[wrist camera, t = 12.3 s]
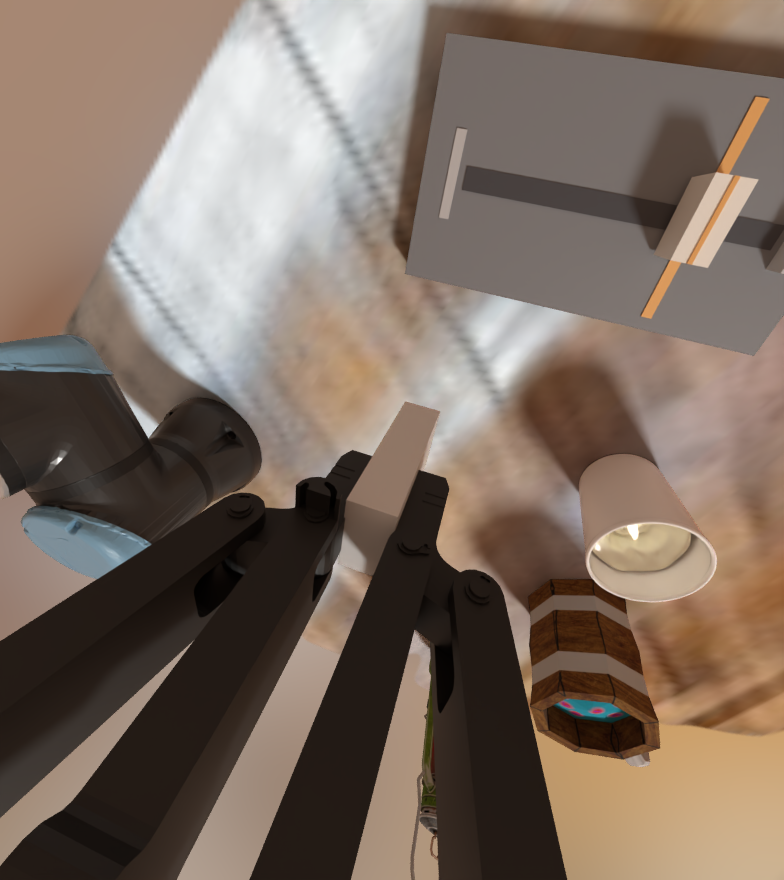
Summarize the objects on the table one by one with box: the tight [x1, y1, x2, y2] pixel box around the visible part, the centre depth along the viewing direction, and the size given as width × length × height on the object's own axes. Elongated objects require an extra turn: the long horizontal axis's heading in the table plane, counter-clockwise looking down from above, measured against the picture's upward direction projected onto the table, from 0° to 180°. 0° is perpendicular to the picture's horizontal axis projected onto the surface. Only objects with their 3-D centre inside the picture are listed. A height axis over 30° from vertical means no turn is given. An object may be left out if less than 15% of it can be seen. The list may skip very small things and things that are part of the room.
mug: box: [528, 579, 660, 767], centre depth 49 cm, size 20×14×15 cm
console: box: [405, 33, 784, 356], centre depth 29 cm, size 30×16×5 cm, turn 80°
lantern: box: [411, 659, 438, 880], centre depth 55 cm, size 14×11×30 cm
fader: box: [654, 172, 758, 268], centre depth 26 cm, size 2×5×4 cm, turn 170°
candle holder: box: [579, 454, 717, 602], centre depth 38 cm, size 10×10×12 cm
